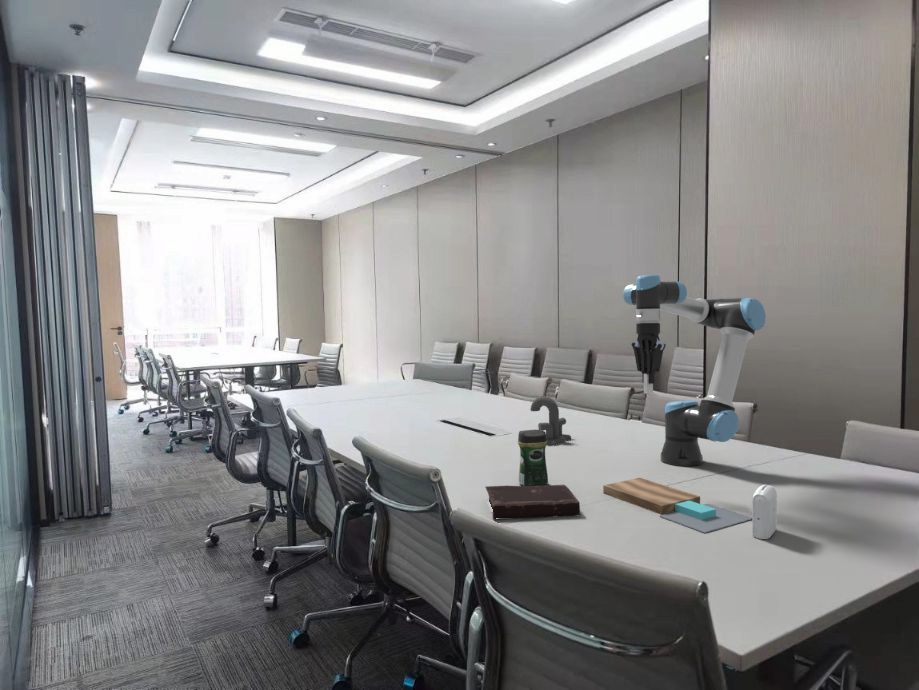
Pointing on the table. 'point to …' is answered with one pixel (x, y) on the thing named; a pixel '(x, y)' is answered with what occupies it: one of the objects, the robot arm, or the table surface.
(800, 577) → the table surface
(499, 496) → the diary
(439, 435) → the table surface
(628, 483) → the wooden board
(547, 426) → the faucet
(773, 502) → the photo printer
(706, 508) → the turquoise flat block
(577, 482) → the table surface
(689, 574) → the table surface
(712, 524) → the mat
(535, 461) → the coffee jar
